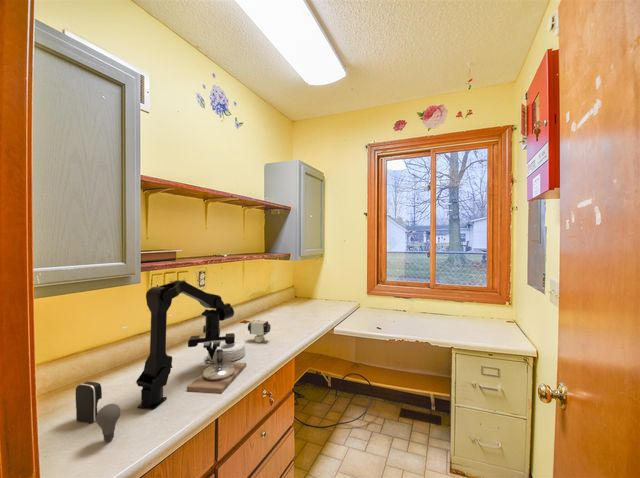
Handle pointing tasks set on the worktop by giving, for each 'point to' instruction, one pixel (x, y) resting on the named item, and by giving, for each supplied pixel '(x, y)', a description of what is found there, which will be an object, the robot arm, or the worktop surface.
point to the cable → (229, 351)
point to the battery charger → (87, 401)
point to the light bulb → (108, 420)
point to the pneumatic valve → (259, 329)
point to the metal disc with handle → (218, 369)
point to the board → (218, 385)
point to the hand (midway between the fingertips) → (212, 359)
